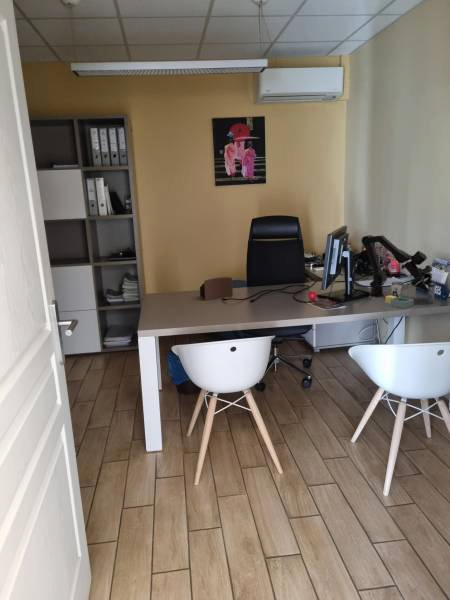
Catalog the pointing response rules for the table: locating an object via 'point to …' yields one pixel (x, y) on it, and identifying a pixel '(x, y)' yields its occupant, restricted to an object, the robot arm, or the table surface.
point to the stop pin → (431, 293)
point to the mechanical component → (401, 285)
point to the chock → (389, 299)
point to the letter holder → (216, 288)
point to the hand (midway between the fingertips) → (431, 290)
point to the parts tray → (402, 302)
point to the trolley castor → (398, 293)
